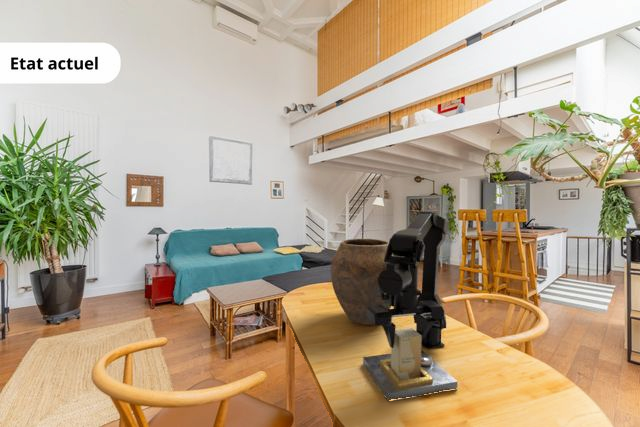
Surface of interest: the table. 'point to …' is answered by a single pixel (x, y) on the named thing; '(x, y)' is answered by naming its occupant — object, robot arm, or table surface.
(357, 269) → the vase
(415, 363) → the skincare box
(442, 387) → the grey slotted board
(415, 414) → the table surface
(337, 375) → the table surface
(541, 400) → the table surface
